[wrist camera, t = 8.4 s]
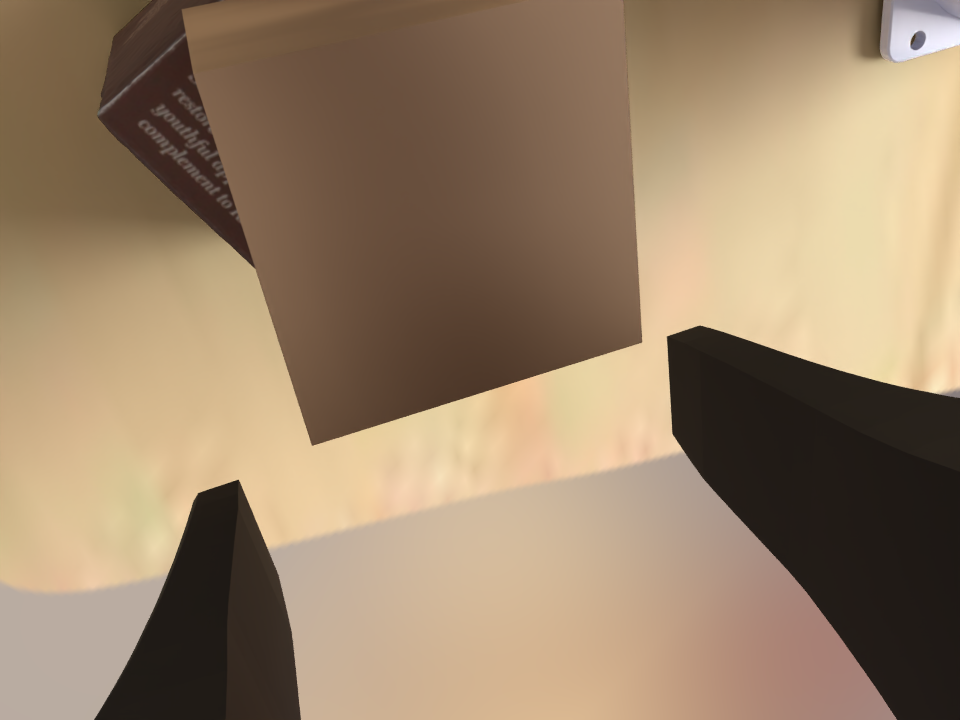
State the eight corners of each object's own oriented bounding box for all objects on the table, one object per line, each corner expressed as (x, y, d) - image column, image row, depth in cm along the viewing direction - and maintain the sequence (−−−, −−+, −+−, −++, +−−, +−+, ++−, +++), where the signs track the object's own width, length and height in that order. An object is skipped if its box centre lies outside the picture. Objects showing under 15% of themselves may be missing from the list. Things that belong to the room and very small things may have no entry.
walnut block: (475, -52, 13) (622, -20, 9) (512, 219, 15) (642, 341, 11) (181, 9, 12) (193, 74, 8) (269, 286, 15) (311, 445, 10)
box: (104, 35, 18) (78, 110, 12) (313, -154, 18) (392, -172, 12) (295, 230, 22) (349, 364, 16) (474, 75, 21) (601, 152, 15)
